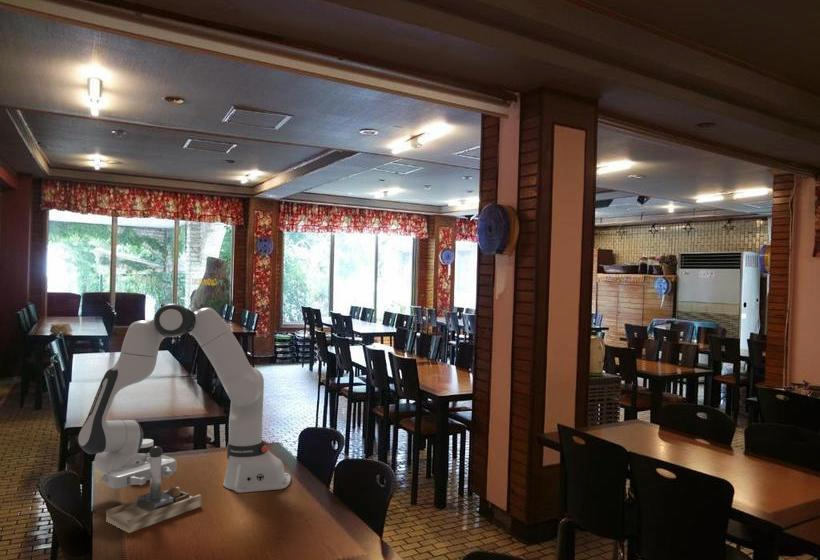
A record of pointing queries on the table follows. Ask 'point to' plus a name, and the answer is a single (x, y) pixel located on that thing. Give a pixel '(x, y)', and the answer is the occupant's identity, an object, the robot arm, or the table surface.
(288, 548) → the table surface
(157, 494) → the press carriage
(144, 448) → the spread jar
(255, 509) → the table surface
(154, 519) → the press base
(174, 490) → the walnut
